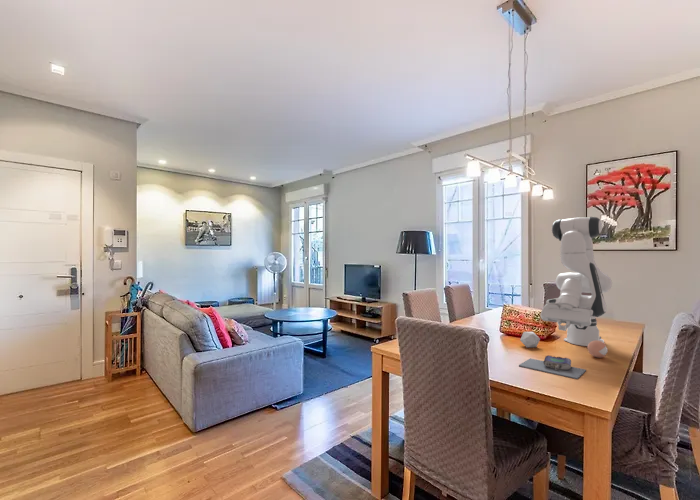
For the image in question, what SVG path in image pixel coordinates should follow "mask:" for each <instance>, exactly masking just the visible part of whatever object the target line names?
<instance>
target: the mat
mask: <svg viewBox="0 0 700 500" xmlns="http://www.w3.org/2000/svg"><path fill="white" fill-rule="evenodd" d="M543 362H544V360H540V359H535V358H528V359H527V360H525V361H524V362H521V363H519V364H518V367H521V368H526V369H529V370H534V371H539V372H543V373H547V374H552V375H557V376H561V377H565V378H571V379H574V380H578V379H580V378H581V377H582V376H583V374H585V373H586V372H587V369H584V368H579V367H575V366H571V368H570V369H568V370H560V369H559V370H558V369H557V370H556V369H554V368H550V367H547V366H545V365H544V363H543Z"/></svg>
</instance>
